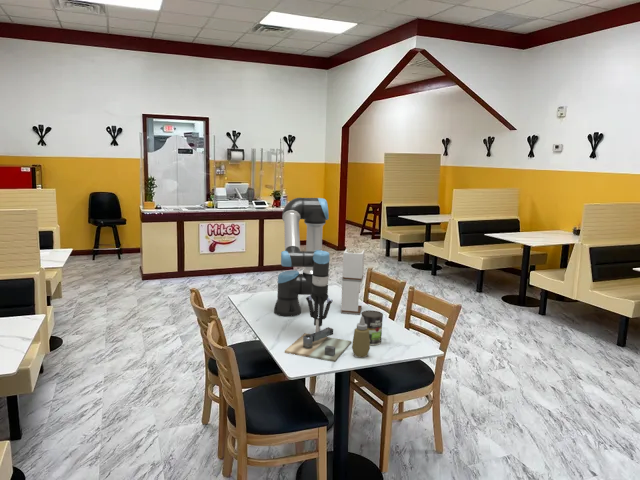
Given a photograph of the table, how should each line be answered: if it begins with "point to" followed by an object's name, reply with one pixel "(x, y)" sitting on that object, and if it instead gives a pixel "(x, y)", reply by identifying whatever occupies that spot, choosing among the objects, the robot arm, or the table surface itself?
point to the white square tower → (352, 282)
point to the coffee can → (373, 325)
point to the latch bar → (316, 337)
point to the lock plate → (320, 348)
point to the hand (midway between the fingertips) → (317, 332)
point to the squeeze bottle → (361, 339)
